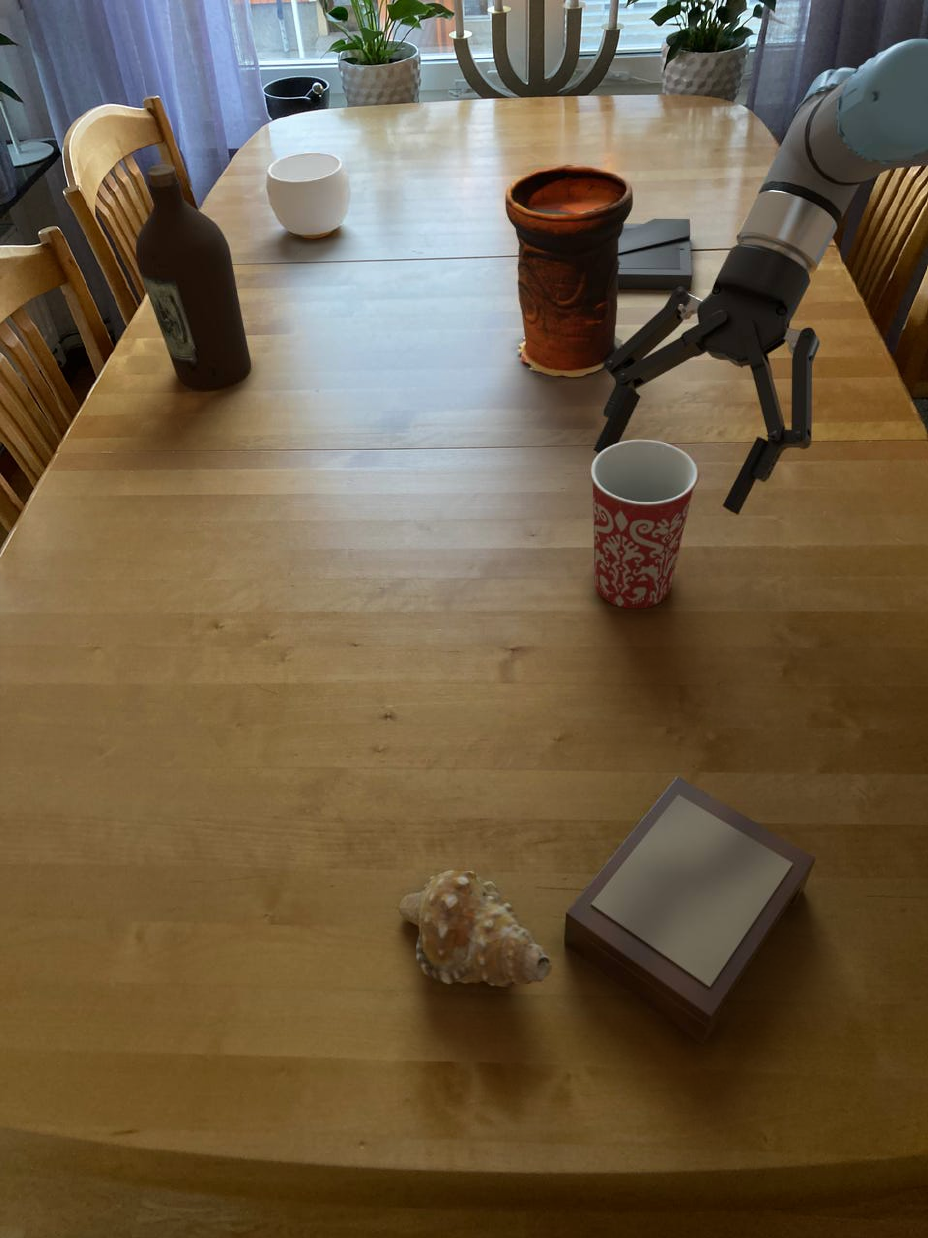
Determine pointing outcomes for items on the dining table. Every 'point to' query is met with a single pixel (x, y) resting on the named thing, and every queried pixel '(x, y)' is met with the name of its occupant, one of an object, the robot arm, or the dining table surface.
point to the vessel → (568, 265)
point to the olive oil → (191, 288)
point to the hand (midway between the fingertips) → (663, 482)
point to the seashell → (471, 933)
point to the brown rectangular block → (686, 905)
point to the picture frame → (655, 255)
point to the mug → (639, 519)
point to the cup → (309, 193)
